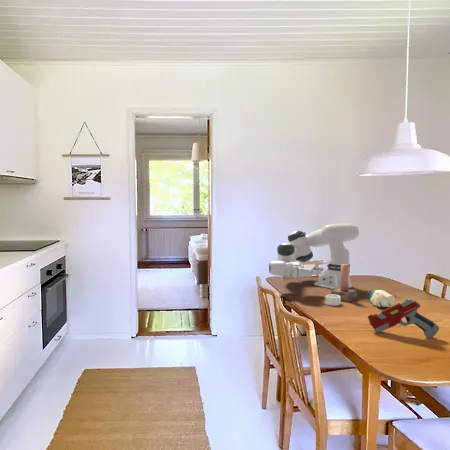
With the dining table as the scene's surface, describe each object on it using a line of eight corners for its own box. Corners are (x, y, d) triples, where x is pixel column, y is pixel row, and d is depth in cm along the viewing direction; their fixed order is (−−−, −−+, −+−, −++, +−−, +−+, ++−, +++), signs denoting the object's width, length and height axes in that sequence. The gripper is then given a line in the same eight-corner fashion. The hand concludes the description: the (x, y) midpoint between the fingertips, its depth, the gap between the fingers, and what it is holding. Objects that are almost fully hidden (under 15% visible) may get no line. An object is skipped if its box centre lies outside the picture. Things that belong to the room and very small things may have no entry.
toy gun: (389, 353, 172) (366, 315, 174) (442, 331, 164) (417, 292, 166) (389, 356, 169) (366, 318, 171) (443, 334, 160) (417, 294, 163)
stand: (331, 299, 224) (331, 290, 224) (339, 296, 232) (339, 287, 231) (349, 302, 218) (349, 293, 217) (356, 299, 225) (357, 290, 225)
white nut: (323, 305, 213) (323, 296, 213) (329, 302, 219) (329, 293, 219) (336, 307, 209) (336, 298, 208) (342, 304, 214) (342, 295, 214)
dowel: (339, 290, 224) (339, 264, 223) (342, 289, 227) (342, 263, 226) (346, 291, 221) (346, 265, 220) (349, 290, 224) (349, 264, 224)
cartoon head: (389, 316, 202) (362, 305, 221) (403, 305, 204) (375, 294, 223) (382, 302, 200) (356, 292, 218) (396, 291, 202) (369, 281, 221)
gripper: (300, 271, 242) (324, 273, 238) (293, 278, 223) (319, 280, 218) (300, 261, 242) (324, 262, 237) (293, 266, 223) (320, 268, 218)
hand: (322, 271), depth 228 cm, fingers open, 8 cm apart
